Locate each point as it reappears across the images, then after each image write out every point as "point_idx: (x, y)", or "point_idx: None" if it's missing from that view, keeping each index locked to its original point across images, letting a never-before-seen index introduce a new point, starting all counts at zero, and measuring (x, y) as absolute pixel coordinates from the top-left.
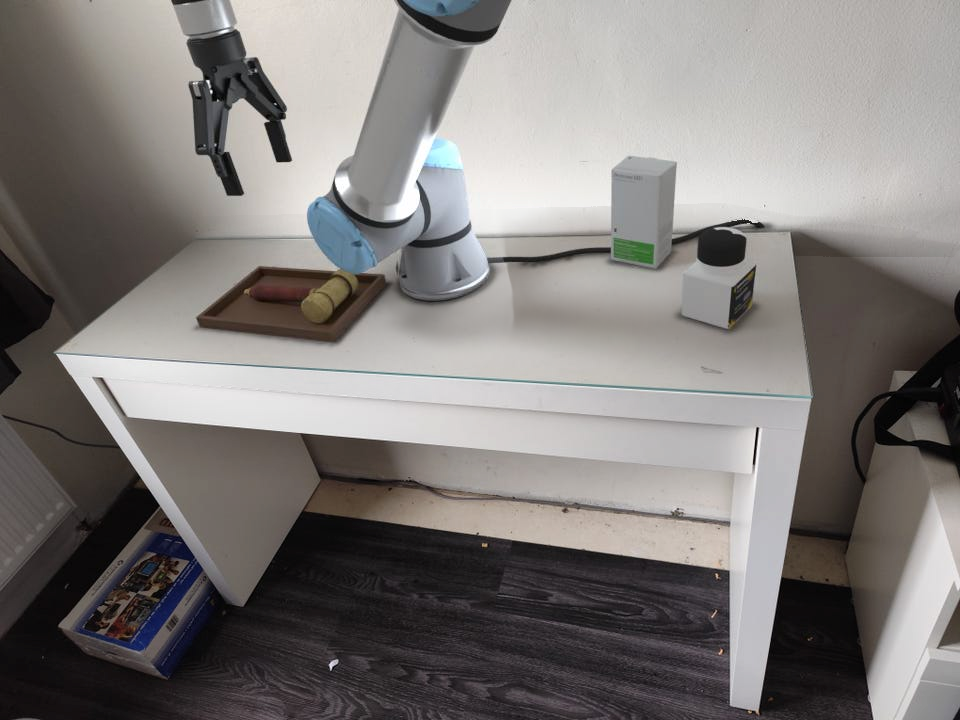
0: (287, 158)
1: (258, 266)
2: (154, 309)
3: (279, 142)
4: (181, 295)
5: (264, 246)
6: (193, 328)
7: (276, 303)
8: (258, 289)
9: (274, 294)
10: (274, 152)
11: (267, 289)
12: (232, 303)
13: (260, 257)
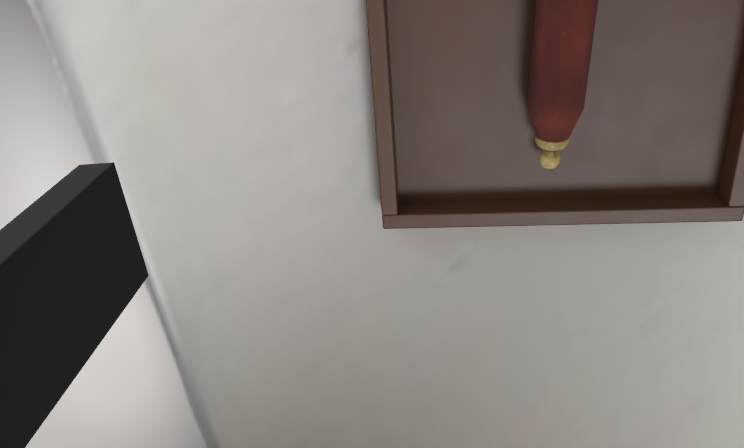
0: (102, 188)
1: (387, 228)
2: (627, 404)
3: (41, 287)
4: (544, 381)
5: (219, 324)
6: None
7: None
8: (576, 93)
9: (596, 5)
10: (112, 310)
11: (582, 48)
12: (590, 184)
13: (284, 292)
